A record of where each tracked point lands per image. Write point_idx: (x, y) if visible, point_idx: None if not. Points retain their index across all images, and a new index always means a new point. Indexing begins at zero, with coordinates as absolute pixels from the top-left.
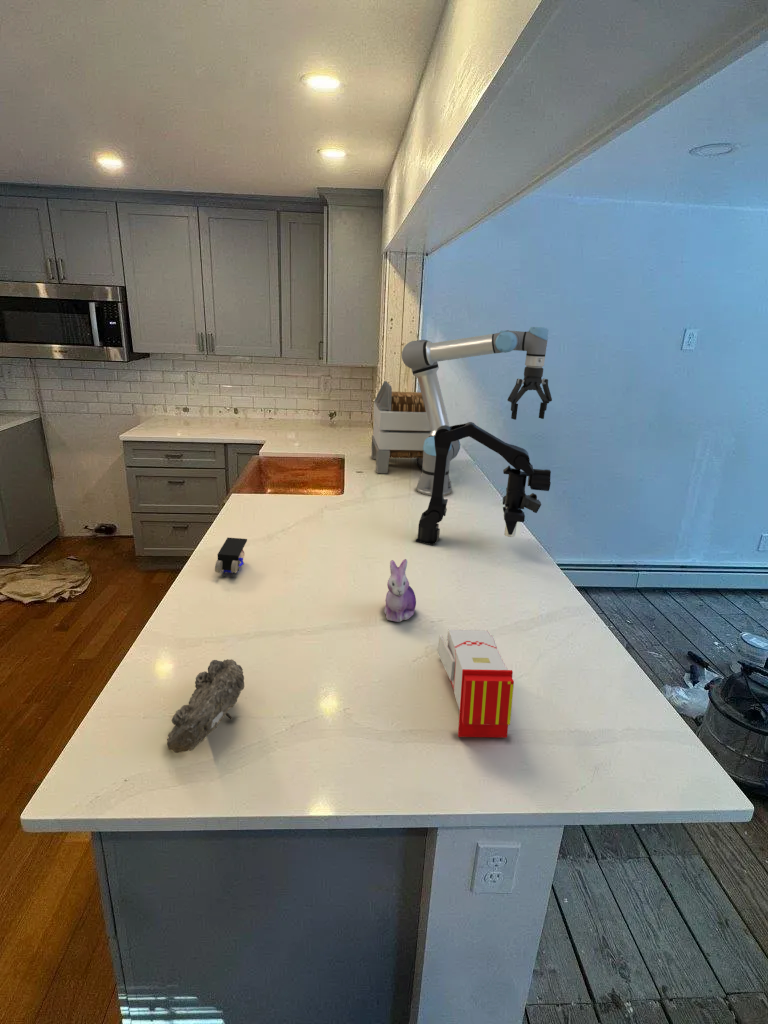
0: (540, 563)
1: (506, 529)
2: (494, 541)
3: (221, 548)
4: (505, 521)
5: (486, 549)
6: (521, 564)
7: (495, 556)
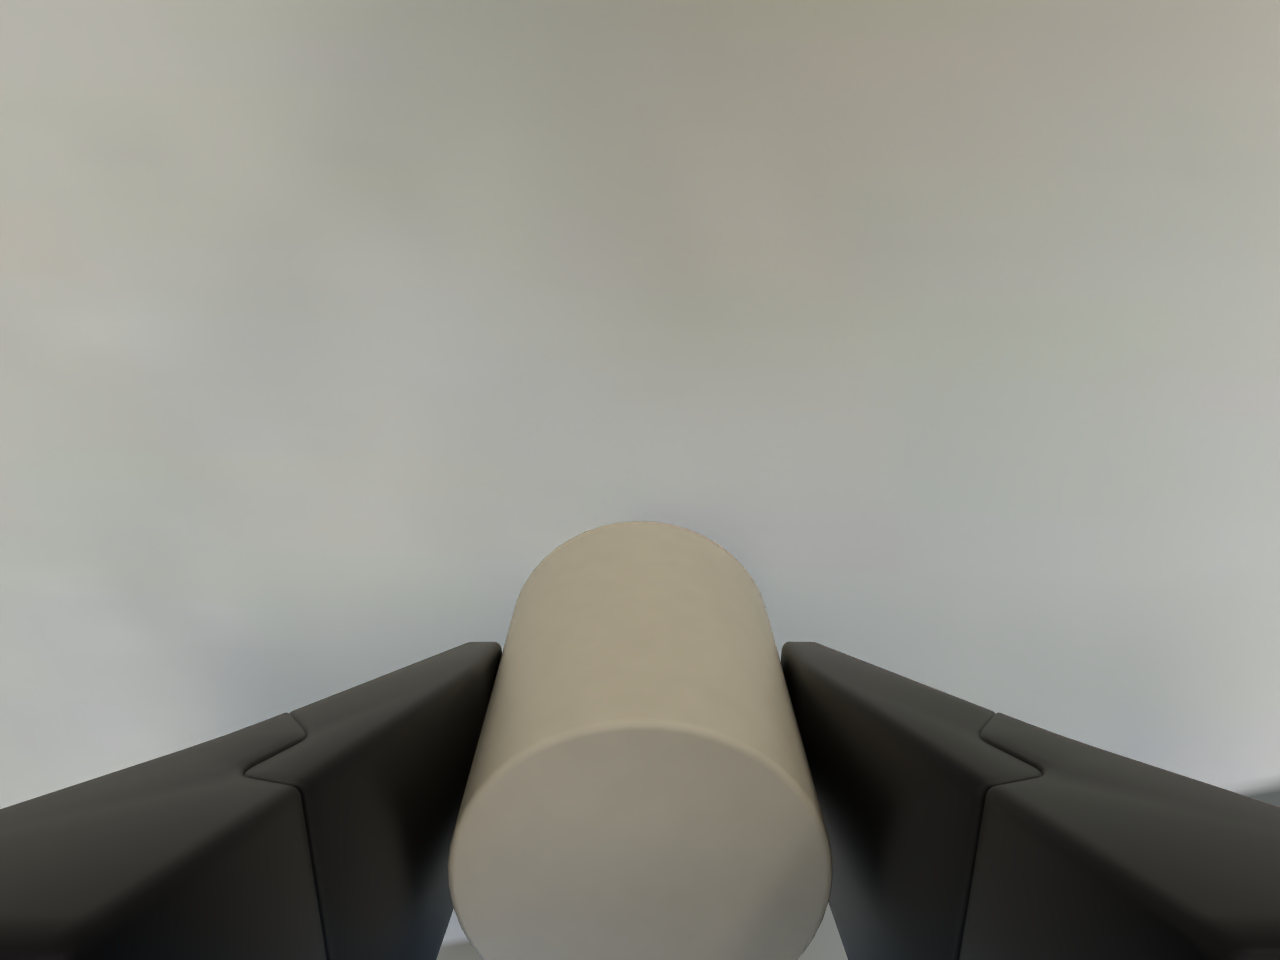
0: None
1: (535, 634)
2: (983, 270)
3: None
4: (68, 801)
5: (528, 97)
6: (99, 673)
7: (245, 275)
